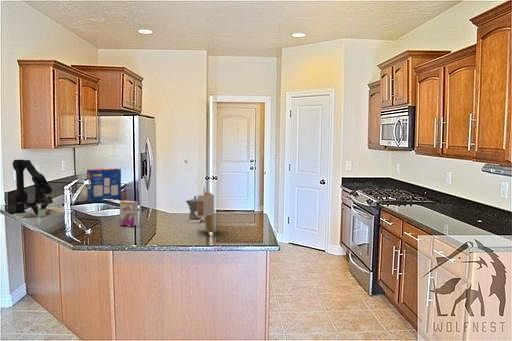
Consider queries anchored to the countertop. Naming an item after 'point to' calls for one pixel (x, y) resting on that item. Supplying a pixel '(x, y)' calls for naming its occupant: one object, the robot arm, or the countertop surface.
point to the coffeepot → (193, 208)
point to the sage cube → (40, 213)
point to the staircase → (206, 210)
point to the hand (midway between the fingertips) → (39, 214)
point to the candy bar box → (128, 213)
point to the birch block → (54, 210)
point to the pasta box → (104, 184)
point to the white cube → (33, 211)
